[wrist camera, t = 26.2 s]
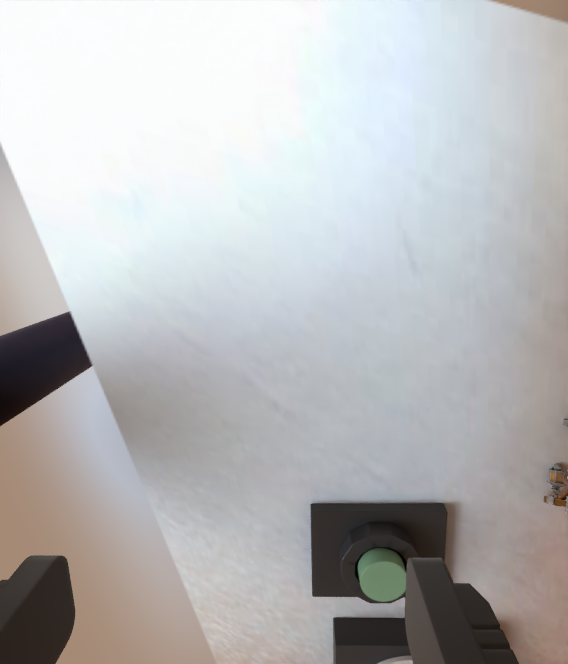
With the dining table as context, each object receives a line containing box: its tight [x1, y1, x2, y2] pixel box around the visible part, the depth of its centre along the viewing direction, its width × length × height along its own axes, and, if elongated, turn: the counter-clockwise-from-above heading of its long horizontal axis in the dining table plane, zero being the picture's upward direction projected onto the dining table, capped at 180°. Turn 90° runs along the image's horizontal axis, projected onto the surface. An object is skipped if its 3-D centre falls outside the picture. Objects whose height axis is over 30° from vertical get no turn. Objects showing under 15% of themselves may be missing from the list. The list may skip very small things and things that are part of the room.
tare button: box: [358, 548, 406, 602], centre depth 39 cm, size 4×4×2 cm
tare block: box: [311, 504, 447, 603], centre depth 41 cm, size 12×9×3 cm
